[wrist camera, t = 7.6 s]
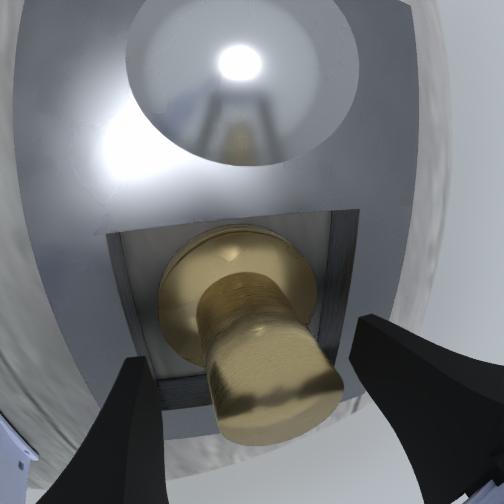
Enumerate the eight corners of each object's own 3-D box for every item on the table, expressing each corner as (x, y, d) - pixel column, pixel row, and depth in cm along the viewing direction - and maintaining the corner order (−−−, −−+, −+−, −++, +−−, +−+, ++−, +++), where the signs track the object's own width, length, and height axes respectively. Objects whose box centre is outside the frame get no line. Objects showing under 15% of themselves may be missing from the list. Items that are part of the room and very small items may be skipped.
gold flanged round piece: (301, 338, 15) (360, 431, 9) (174, 362, 13) (188, 477, 8) (308, 215, 12) (410, 288, 6) (145, 235, 10) (124, 347, 5)
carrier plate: (349, 372, 17) (376, 410, 14) (123, 414, 14) (122, 464, 11) (381, 15, 9) (435, -2, 6) (46, 11, 6) (8, -22, 3)
